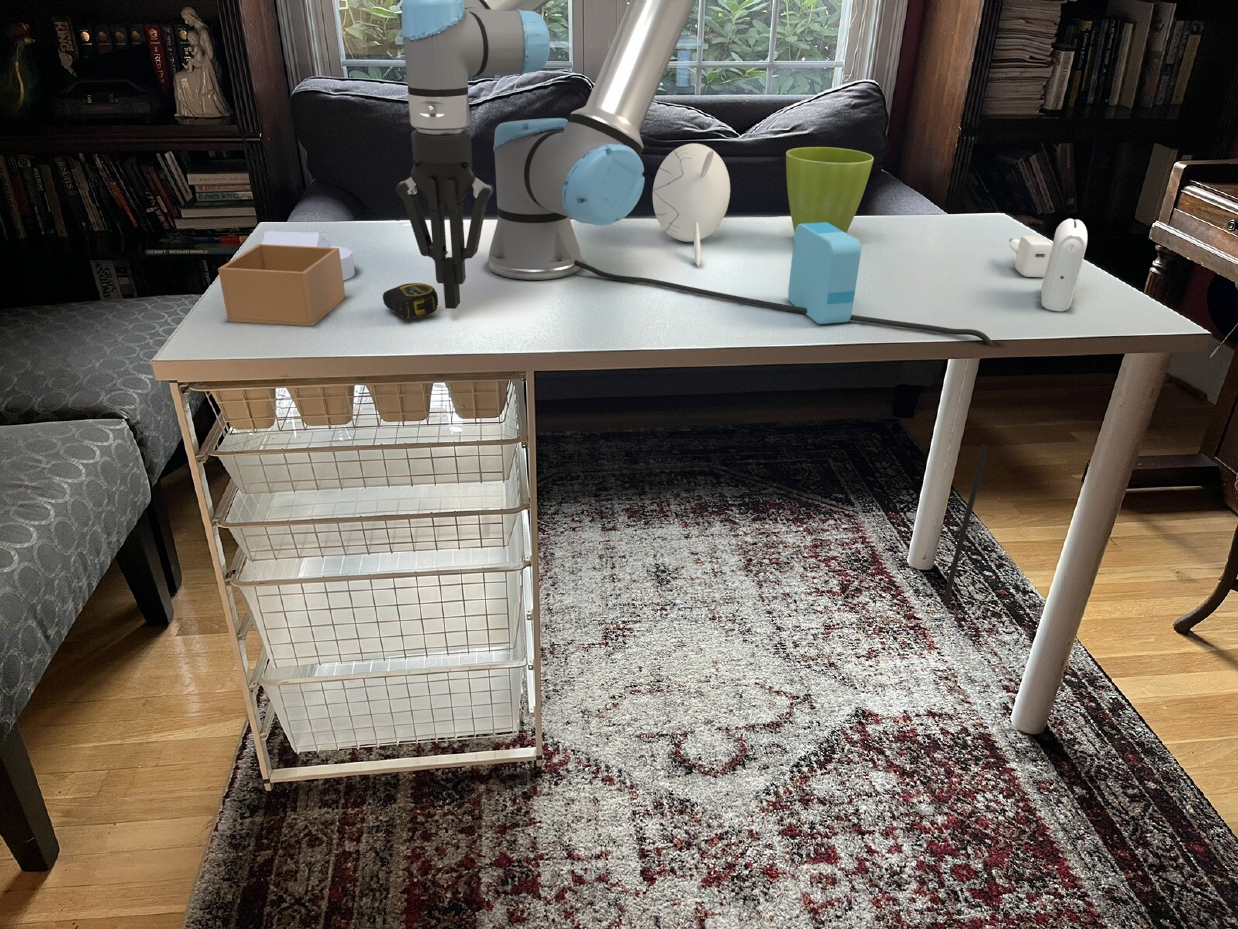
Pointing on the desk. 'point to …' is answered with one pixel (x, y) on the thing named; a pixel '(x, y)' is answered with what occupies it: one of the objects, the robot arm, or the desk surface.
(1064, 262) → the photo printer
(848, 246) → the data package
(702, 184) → the cracked egg ornament
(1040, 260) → the power adapter
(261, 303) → the box
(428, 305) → the tape measure
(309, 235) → the wedge on round base
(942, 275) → the desk surface
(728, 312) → the desk surface
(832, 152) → the flower pot
